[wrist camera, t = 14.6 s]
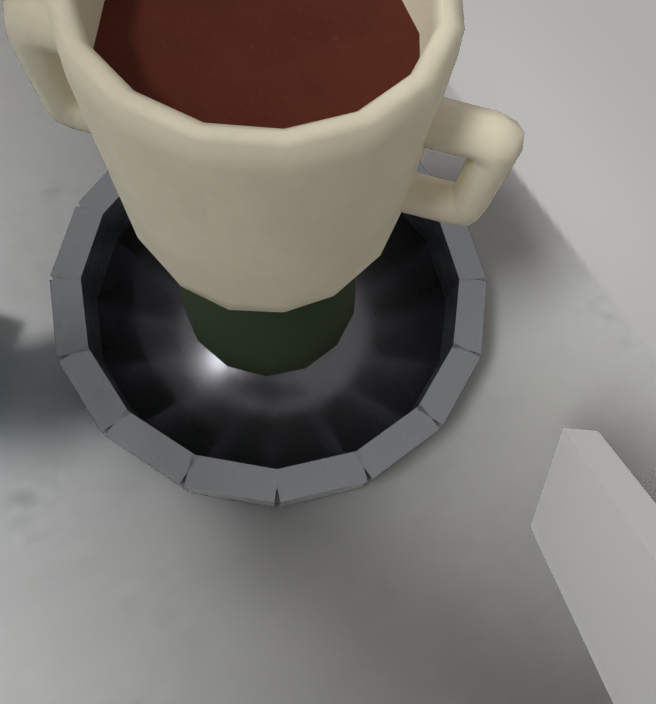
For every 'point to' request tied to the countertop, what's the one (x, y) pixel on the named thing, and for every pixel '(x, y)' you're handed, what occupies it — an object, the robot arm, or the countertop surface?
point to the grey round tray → (257, 390)
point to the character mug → (267, 145)
